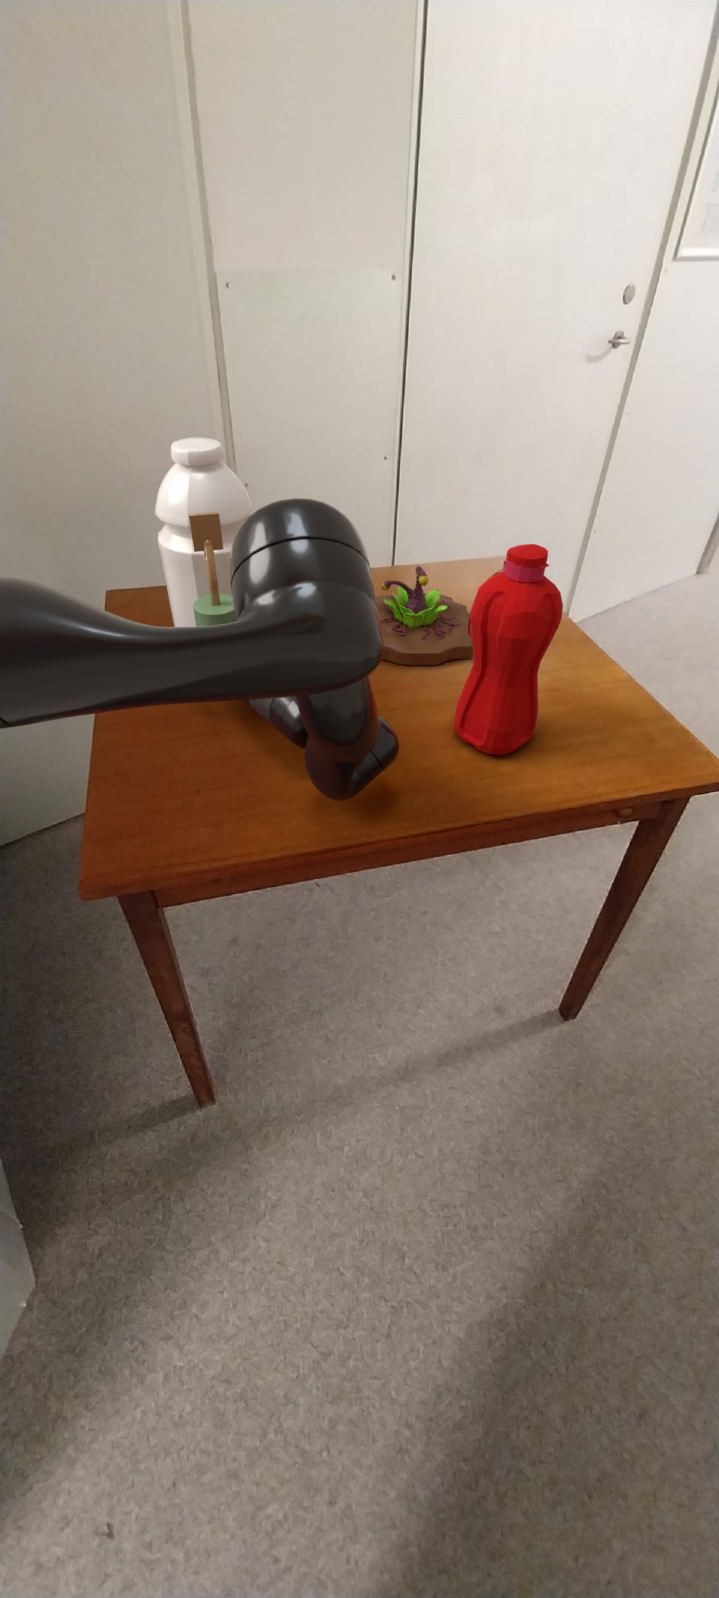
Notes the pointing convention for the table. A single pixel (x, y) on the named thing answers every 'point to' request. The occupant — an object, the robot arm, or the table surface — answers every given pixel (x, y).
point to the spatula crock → (210, 571)
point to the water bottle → (508, 652)
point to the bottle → (189, 491)
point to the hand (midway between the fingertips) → (212, 633)
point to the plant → (422, 625)
